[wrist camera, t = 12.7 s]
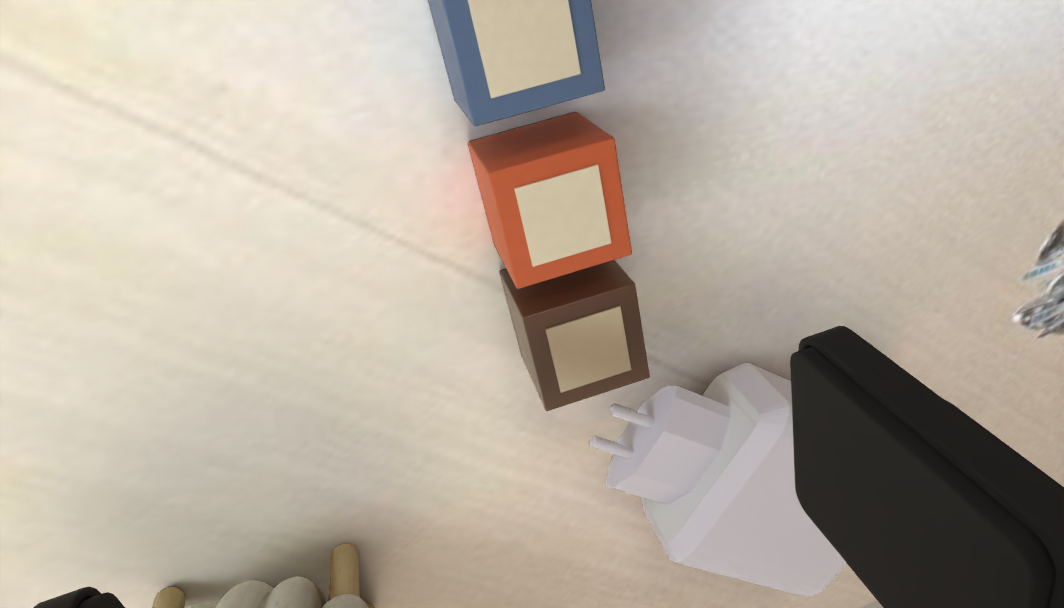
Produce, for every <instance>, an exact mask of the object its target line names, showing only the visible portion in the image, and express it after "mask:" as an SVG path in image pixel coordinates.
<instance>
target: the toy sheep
mask: <svg viewBox="0 0 1064 608" xmlns="http://www.w3.org/2000/svg"><path fill="white" fill-rule="evenodd" d="M184 605H185V595H184V593H183V592H182V591H181V590H180V589H179V588H176V587H168V588H165V589H163V590H161V591H160V592H159V593H157V595H156V597H155V599H154V603H153V607H152V608H184ZM187 608H375V607H374V606H373V605H372V604H370V603H365V602H364V601H363V600H362V599H361V598H360V595H359V554H358V550H357V548H356V547H355V546H354V545H352V544H348V543H344V544H340V545H339V546H337V547H336V548H335V549H334V550H333V551H332V554H331V567H330V595H329V600H328V602H327V601H326V598H325V596H324V595H323V594H322V592H321V591H320V590H319V588H318V587H317V586H316V585H315V584H314V583H313V582H312V581H310V580H308V579H306V578H303V577H292V578H289V579H286V580H284V581H283V582H281V583H279V584H278V585H277V586H276V587H275V588H273V587H271V586H270V585H268V584H266V583H264V582H261V581H256V580H249V581H245V582H242V583H240V584H238V585H236V586H234V587H233V588H232V589H230V590H229V591H228V592H227V593H226V594H225V595H224V596H223V597H222V598H221V600H220V601H219V603H218V604H216V603H209V602H203V603H197V604H193V605H191V606H189V607H187Z"/></svg>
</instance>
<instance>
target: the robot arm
mask: <svg viewBox="0 0 1064 608" xmlns="http://www.w3.org/2000/svg"><path fill="white" fill-rule="evenodd" d="M790 366H791V393H792V419H793V446H794V472H795V490H796V494H797V498H798V500H799V502H800V505H801V506H802V508H803V510H804V511H805V513H806V514H807V515H808V517H809V518H810V519H811V520H812V521H813V523H814V524H815V525H816V526H817V528H818V529H819V530H820V531H821V532H822V534H823V535H824V536H825V537H826V538H827V540H828V541H829V542H830V543H831V545H832V546H833V547H834V548H835V549H836V551H837V552H838V553H839V554H840V555H841V557H842V558H843V559H844V560H845V561H846V563H847V564H848V565H849V566H850V568H851V569H852V570H853V571H854V572H855V574H856V575H857V576H858V577H859V578H860V580H861V581H862V582H863V583H864V585H865V586H866V587H867V588H868V589H869V591H870V592H871V593H872V594H873V595H874V597H875V598H876V599H877V600H878V601H879V603H880V604H881V605H882V606H883V607H884V608H1064V487H1063V486H1061V485H1060V484H1059V483H1057V482H1056V481H1055V480H1053V479H1052V478H1051V477H1049V476H1048V475H1047V474H1045V473H1044V472H1043V471H1041V470H1040V469H1039V468H1037V467H1036V466H1035V465H1033V464H1032V463H1031V462H1029V461H1028V460H1027V459H1025V458H1024V457H1023V456H1021V455H1020V454H1019V453H1017V452H1016V451H1014V450H1013V449H1012V448H1010V447H1009V446H1008V445H1006V444H1005V443H1004V442H1002V441H1001V440H1000V439H998V438H997V437H996V436H994V435H993V434H992V433H990V432H989V431H988V430H986V429H985V428H984V427H982V426H981V425H980V424H978V423H977V422H976V421H974V420H973V419H972V418H970V417H969V416H968V415H966V414H965V413H964V412H962V411H961V410H960V409H958V408H957V407H956V406H954V405H953V404H951V403H950V402H948V401H946V400H944V399H943V398H941V397H940V396H938V395H937V394H936V393H934V392H933V391H932V390H930V389H929V388H928V387H926V386H925V385H924V384H922V383H921V382H920V381H918V380H917V379H916V378H914V377H913V376H912V375H910V374H909V373H908V372H906V371H905V370H904V369H903V368H901V367H900V366H899V365H897V364H896V363H895V362H893V361H892V360H891V359H889V358H888V357H887V356H885V355H884V354H883V353H881V352H880V351H879V350H877V349H876V348H875V347H873V346H872V345H871V344H869V343H868V342H867V341H865V340H864V339H863V338H861V337H860V336H859V335H857V334H856V333H855V332H853V331H852V330H850V329H849V328H847V327H845V326H838V327H835V328H832V329H829V330H826V331H823V332H820V333H817V334H815V335H812V336H809V337H806V338H804V339H802V340H801V342H800V344H799V351H798V352H795V353H793V354H792V356H791V360H790ZM34 608H125V607H124V606H123V605H122V603H121V602H120V601H119V600H118V599H117V597H115V596H114V595H113V594H111V593H103V594H101V593H100V592H99V591H98V590H97V589H95V588H92V587H85V588H82V589H79V590H76V591H73V592H70V593H67V594H64V595H61V596H58V597H56V598H53V599H50V600H47V601H44V602H41V603H39V604H37V605H36V606H35V607H34Z"/></svg>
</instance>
